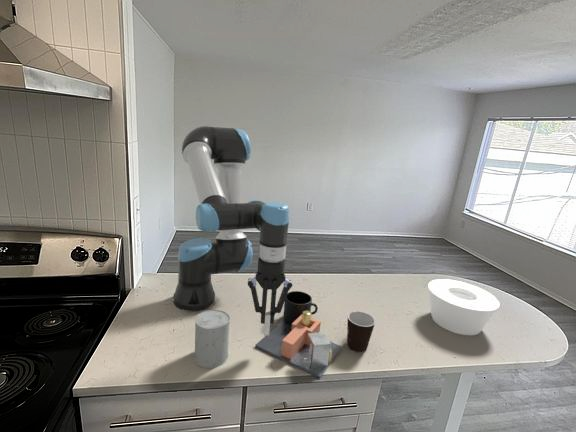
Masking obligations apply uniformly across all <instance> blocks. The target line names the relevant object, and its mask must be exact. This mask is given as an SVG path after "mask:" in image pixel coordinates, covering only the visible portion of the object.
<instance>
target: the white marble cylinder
mask: <svg viewBox="0 0 576 432" xmlns="http://www.w3.org/2000/svg"><path fill="white" fill-rule="evenodd" d="M194 321H195V325H194V326H195V329H194V335H195V336H194V356H193V357H194V361H195V363H196V364H197V365H198V366H200V367H201V368H202V367H203V368H206V369H207V368H208V369H211V368H213V369H214V368H217V367H219V366H222V365H223V364H225V363H226V362H227V360H228V357H229V344H230V342H229V339H230V321H231V316H230V315H229V314H228V313H227V312H226V311H223V310H220V309H208V310H203V311H202V312H200V313H198V314H197V315H196V317H195V320H194Z"/></svg>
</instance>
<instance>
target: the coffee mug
mask: <svg viewBox="0 0 576 432" xmlns="http://www.w3.org/2000/svg"><path fill="white" fill-rule="evenodd" d="M375 325H376V319H375V317H374V316H372V315H371V314H370V313H368V312H365V311H360V310H354V311H350V312H349V313H348V314H347V327H346V330H347V331H346V332H347V333H346V346H347V347H348V349H350V350H351V351H353V352H355V353H364V352H366V351H367V349H368V346H369V343H370V339H371V337H372V334H373V331H374V327H375Z"/></svg>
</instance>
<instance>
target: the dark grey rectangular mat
mask: <svg viewBox="0 0 576 432" xmlns="http://www.w3.org/2000/svg"><path fill="white" fill-rule="evenodd" d="M291 327H292V325H290V324H287V323H285V322H284V320H282V321H281V322H280V323H279V324H277V326H275V327H274V328H273V329H272V330H271V331H269V335H264V337H263V338H261V340H259V341H258V342H257V343H256V344H255V348H256V349H258V350H260V351H262V352H264V353H266V354H267V355H268V354H269V355H270V356H272V357H274V358H276V359H278V360H281V361H283V362H285V363H287V364H289V365H291V366H293V367H295V368H297V369H298V370H299V369H300V370H302V371H303V372H306V373H307V374H310V375H311V376H314V377H315V378H318V379H321V377H322V376H323V375H324V373H325V372H326V371H327V370H328V368H329V366H330V365H331V363H333V360H335V358H336V356H338V354H339V352H340V351H341V349H342V346H341V345H340V344H337V343H335V342H332V341H330V340H329V342H330V343H331V346H330V349H331V350H332V356H331V362H328V366H323V367H314V368H311V366H310V363H311V355H312V347H313V346H312V344H311V345H310V346H309V345H307V344H304V345H303V346H302V348H301V349H300V350H299V351H298V352H297V353H296V354H295V356H294V357H293V358H292V359H289V358H287V357H285V356H282V355H281V347H282V340H283V339H284V338H285V337H286V336H287V335H288V334H289V333H290V332H291Z"/></svg>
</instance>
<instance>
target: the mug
mask: <svg viewBox="0 0 576 432" xmlns="http://www.w3.org/2000/svg"><path fill="white" fill-rule="evenodd" d="M312 306H314V308H315V309H314V310H313V311H311V310H312ZM318 309H319V308H318V305H317V304H316V303H314V302H313V298H312V296H311V295H310V294H309V293H307V292H305V291H298V290H294V291H288V293H287V296H286V299H285V302H284V305H283V316H282V318H283V320H282V321H283V322H285V323H287V324H290V325H292V323H293V322H294V321H295V320H296V319H297V318H298V317H299V316H301V315H302V314H303V311H310V312H311V316H312V315H314V314H316V313H318Z"/></svg>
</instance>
